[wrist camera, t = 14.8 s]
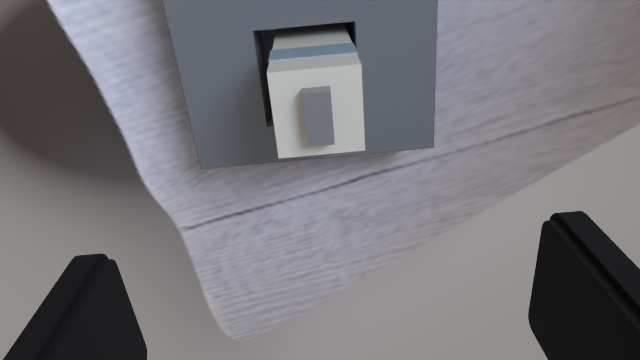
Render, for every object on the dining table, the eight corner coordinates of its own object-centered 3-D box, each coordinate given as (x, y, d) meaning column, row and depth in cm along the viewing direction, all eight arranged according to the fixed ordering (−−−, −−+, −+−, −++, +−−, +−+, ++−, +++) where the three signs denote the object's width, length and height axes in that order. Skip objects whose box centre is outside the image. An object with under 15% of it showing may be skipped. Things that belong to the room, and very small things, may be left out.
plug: (343, 21, 29) (364, 67, 20) (347, 86, 31) (368, 158, 21) (276, 27, 29) (264, 77, 20) (284, 92, 31) (276, 167, 21)
